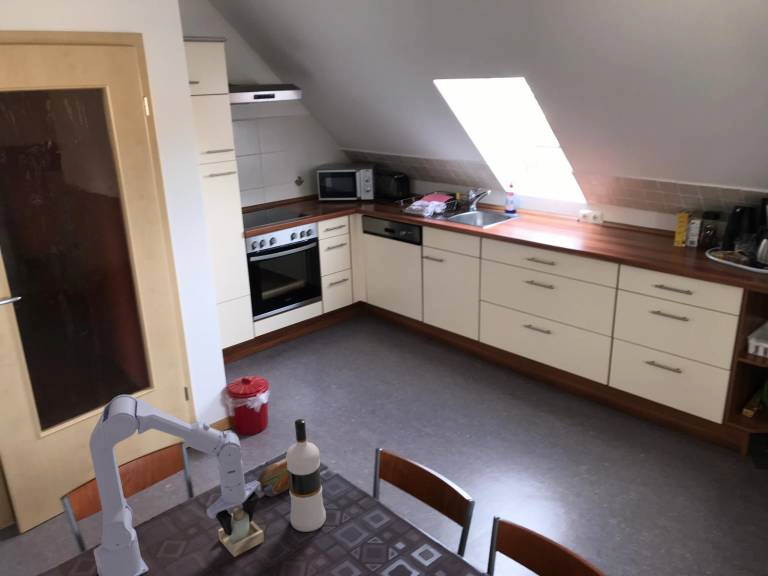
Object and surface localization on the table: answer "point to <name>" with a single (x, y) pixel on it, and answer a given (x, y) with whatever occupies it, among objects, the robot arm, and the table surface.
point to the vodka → (305, 482)
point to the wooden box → (245, 544)
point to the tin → (275, 478)
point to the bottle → (239, 525)
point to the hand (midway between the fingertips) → (238, 526)
